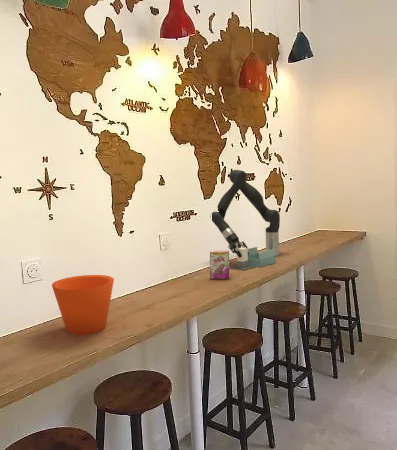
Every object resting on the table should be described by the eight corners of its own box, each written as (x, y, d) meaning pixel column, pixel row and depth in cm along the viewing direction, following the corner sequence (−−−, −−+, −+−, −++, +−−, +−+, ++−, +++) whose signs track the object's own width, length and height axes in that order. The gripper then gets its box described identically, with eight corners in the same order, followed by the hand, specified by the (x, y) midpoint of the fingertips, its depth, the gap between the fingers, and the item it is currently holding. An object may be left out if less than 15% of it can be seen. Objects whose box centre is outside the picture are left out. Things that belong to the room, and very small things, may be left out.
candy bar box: (210, 279, 270) (209, 251, 268) (211, 277, 275) (210, 250, 273) (229, 279, 269) (228, 251, 267) (229, 277, 273) (229, 250, 272)
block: (242, 265, 302) (241, 247, 300) (248, 266, 298) (247, 248, 297) (237, 266, 298) (236, 248, 297) (243, 267, 294) (242, 249, 293)
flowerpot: (68, 343, 176) (64, 293, 174) (47, 327, 196) (43, 281, 194) (127, 328, 190) (124, 281, 188) (101, 314, 211) (99, 272, 208)
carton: (257, 260, 320) (257, 246, 319) (275, 262, 310) (275, 248, 308) (241, 264, 309) (241, 250, 307) (259, 267, 298) (259, 252, 297)
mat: (241, 265, 306) (241, 264, 306) (255, 267, 297) (255, 266, 297) (230, 268, 298) (230, 267, 298) (244, 270, 290) (244, 269, 290)
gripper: (225, 234, 296) (240, 254, 289) (240, 231, 306) (254, 250, 299) (220, 241, 300) (234, 261, 293) (234, 238, 310) (248, 257, 303)
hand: (244, 255), depth 296 cm, fingers open, 6 cm apart
